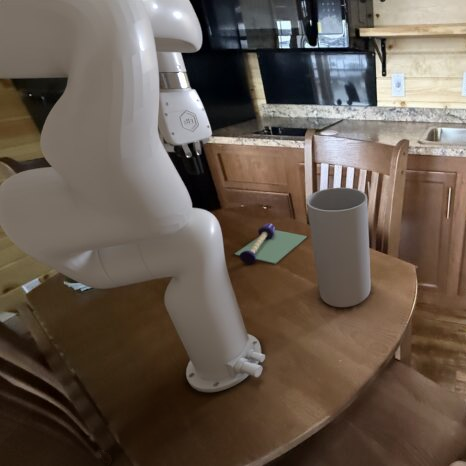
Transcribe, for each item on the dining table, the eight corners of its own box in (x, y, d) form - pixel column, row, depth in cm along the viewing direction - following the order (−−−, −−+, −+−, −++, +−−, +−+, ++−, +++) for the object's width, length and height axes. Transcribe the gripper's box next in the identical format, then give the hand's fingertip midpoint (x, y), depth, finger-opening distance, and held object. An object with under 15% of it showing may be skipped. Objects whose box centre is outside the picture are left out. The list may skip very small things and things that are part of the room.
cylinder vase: (309, 299, 75) (293, 203, 63) (339, 271, 85) (330, 184, 73) (353, 315, 71) (345, 216, 58) (379, 284, 81) (377, 193, 68)
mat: (306, 237, 101) (306, 236, 101) (274, 264, 88) (274, 263, 87) (270, 230, 105) (270, 229, 104) (234, 255, 91) (234, 253, 91)
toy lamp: (235, 251, 85) (261, 220, 99) (240, 265, 88) (265, 232, 102) (252, 252, 85) (276, 220, 99) (257, 265, 88) (280, 232, 102)
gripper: (141, 85, 54) (177, 186, 63) (213, 81, 66) (234, 166, 75) (112, 84, 56) (150, 181, 65) (187, 80, 69) (211, 162, 77)
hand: (195, 173), depth 70 cm, fingers closed
